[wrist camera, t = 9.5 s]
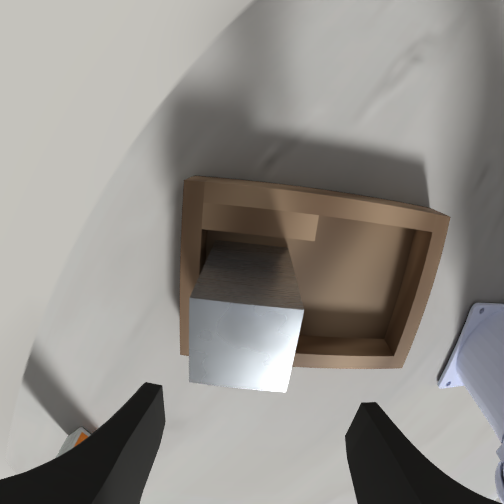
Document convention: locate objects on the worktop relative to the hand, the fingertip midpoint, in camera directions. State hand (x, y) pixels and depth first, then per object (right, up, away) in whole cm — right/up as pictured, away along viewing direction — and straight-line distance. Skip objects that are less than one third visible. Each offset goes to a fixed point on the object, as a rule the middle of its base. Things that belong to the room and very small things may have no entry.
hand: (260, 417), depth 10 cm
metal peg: (-1, +4, +8) cm, 9 cm away
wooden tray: (+3, +5, +8) cm, 10 cm away
